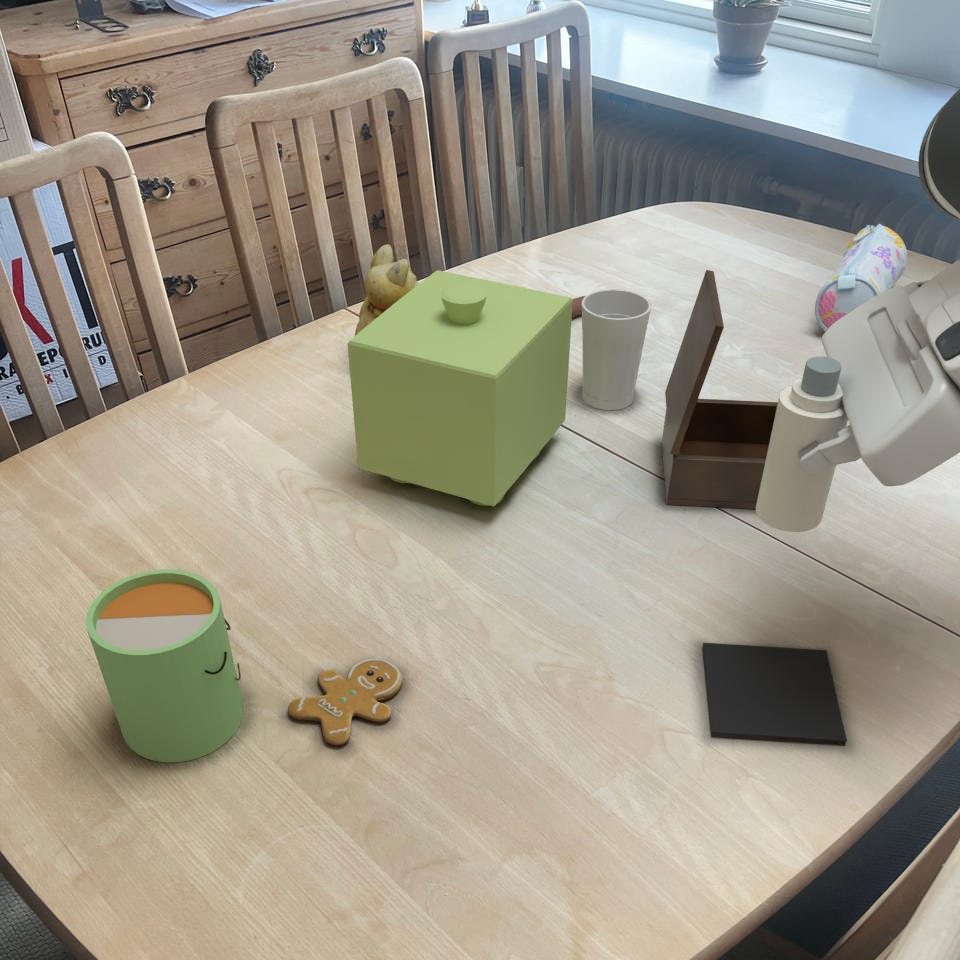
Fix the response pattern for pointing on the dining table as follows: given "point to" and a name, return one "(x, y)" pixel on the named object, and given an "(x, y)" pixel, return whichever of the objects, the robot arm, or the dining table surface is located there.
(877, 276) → the pencil case
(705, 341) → the chest lid
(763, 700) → the mat
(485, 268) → the dining table surface
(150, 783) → the dining table surface
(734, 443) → the chest
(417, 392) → the container
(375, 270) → the decorative figurine
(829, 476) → the bottle
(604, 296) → the cup
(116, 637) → the mug
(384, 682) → the cookie
